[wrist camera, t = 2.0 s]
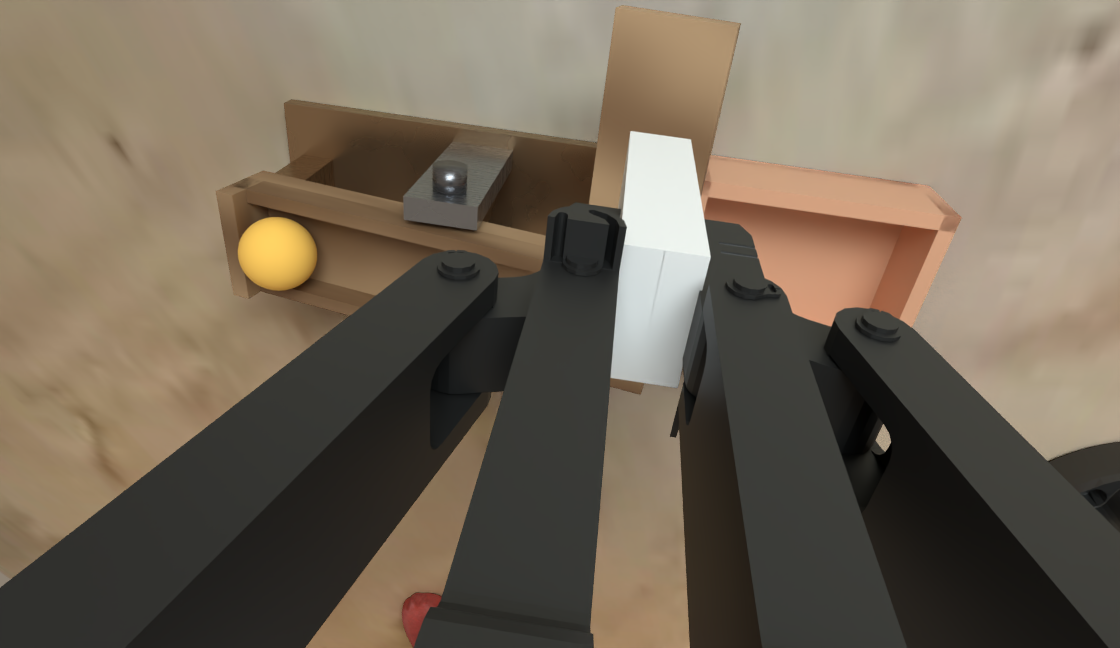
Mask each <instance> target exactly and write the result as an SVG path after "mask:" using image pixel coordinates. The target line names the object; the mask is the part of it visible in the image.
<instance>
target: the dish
mask: <svg viewBox="0 0 1120 648" xmlns="http://www.w3.org/2000/svg"><path fill="white" fill-rule="evenodd" d="M701 202H702V208H703V214H704V219H707V220H714V221H721V222H728V223H735V224H739V225H741V226H742V227H743V228H744V229H745V230H746V231H747V232H748V233H749V234H751V235H752V238H753V241H754V245H755V249H756V251H757V255H758V259H759V261H760V264H761V268H762V271H763V274H764V278H765V279H768V280H770V281H772V282H773V283H775V284H776V285H778V286H779V287H781V288H782V290H783V291H784V292H785V294H786V295H787V298H788V301H789V304H790V306H791V309H792V312H793V313H794V314H796V315H798V316H800V317H803V318H806V319H808V320H811V321H815V322H818V323H821V324H824V325H827V326H832V323H833V321H834V318H835V316H836V313H837V312H839V311H841V310H843V309H844V308H854V307H859V308H867V309H868V308H873V309H878V310H879V311H880V312H881V311H884V312H887V313H890V314H891V315H892V316H893V317H895V318H898V319H900V320H902V321H904V322H905V323H906V324H908V325H909V326H910V327H911V328H912V326H913V324H914V322H915V319H916V317H917V315H918V313H919V311H920V308H921V306H922V304H923V302H924V300H925V297H926V295H927V293H928V291H929V289H930V286H931V284H932V282H933V280H934V278H935V275H936V273H937V271H938V269H939V267H940V264H941V262H942V260H943V258H944V256H945V253H946V251H947V249H948V247H949V245H950V242H951V240H952V238H953V236H954V234H955V231H956V229H957V227H958V225H959V223H960V221H961V217H960V216H959V215H958V214H957V213H956V212H955V211H954V210H953V209H952V208H951V207H950V206H949V205H948V204H947V203H946V202H945V201H944V200H943V199H942V198H941V197H940V196H939V195H938V194H937V193H936V192H935V191H934V190H933V189H932V188H931V187H930V186H927V185H920V184H912V183H905V182H898V181H891V180H884V179H877V178H870V177H863V176H856V175H849V174H842V173H835V172H828V171H821V170H814V169H807V168H800V167H793V166H786V165H779V164H771V163H764V162H757V161H750V160H743V159H736V158H729V157H722V156H715V155H711V156H710V160H709V164H708V169H707V173H706V178H705V182H704V186H703V191H702V195H701Z"/></svg>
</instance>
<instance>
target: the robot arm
mask: <svg viewBox="0 0 1120 648" xmlns="http://www.w3.org/2000/svg"><path fill="white" fill-rule="evenodd" d="M498 274H499V272H498V269H497V266H496V264H495V263H494V262H492V261H491V260H490V259H489V258H487V257H484V256H482V255H479V254H477V253H471V252H467V251H465V250H457V251H455V250H447V251H444V252H440V253H435V254H432V255H430V256H428V257H426V258H424V259H422V260H421V261H420V262H418V263H417V264H416V265H414V266H413V267H412V268H411V269H409V270H408V271H407V272H405V273H404V274H403V275H402V276H400V277H399V278H398V279H396V280H395V281H394V282H393V283H391V284H390V285H389V286H387V287H386V288H385V289H384V290H382V291H381V292H380V293H378V294H377V295H376V296H375V297H373V298H372V299H371V300H369V301H368V302H367V303H366V304H364V305H363V306H362V307H360V308H359V309H358V310H357V311H355V312H354V313H353V314H351V315H350V316H349V317H348V318H346V319H345V320H344V321H342V322H341V323H340V324H339V325H337V326H336V327H335V328H333V329H332V330H331V331H330V332H328V333H327V334H326V335H324V336H323V337H322V338H321V339H319V340H318V341H317V342H315V343H314V344H313V345H312V346H310V347H309V348H308V349H306V350H305V351H304V352H303V353H301V354H300V355H299V356H297V357H296V358H295V359H294V360H292V361H291V362H290V363H288V364H287V365H286V366H285V367H283V368H282V369H281V370H279V371H278V372H277V373H276V374H274V375H273V376H272V377H270V378H269V379H268V380H267V381H265V382H264V383H263V384H261V385H260V386H259V387H258V388H256V389H255V390H254V391H252V392H251V393H250V394H249V395H247V396H246V397H245V398H243V399H242V400H241V401H240V402H238V403H237V404H236V405H234V406H233V407H232V408H231V409H229V410H228V411H227V412H225V413H224V414H223V415H222V416H220V417H219V418H218V419H216V420H215V421H214V422H213V423H211V424H210V425H209V426H207V427H206V428H205V429H204V430H202V431H201V432H200V433H198V434H197V435H196V436H195V437H193V438H192V439H191V440H189V441H188V442H187V443H186V444H184V445H183V446H182V447H180V448H179V449H178V450H177V451H175V452H174V453H173V454H171V455H170V456H169V457H168V458H166V459H165V460H164V461H162V462H161V463H160V464H159V465H157V466H156V467H155V468H153V469H152V470H151V471H150V472H148V473H147V474H146V475H144V476H143V477H142V478H141V479H139V480H138V481H137V482H135V483H134V484H133V485H132V486H130V487H129V488H128V489H126V490H125V491H124V492H123V493H121V494H120V495H119V496H118V497H116V498H115V499H114V500H112V501H111V502H110V503H109V504H107V505H106V506H105V507H103V508H102V509H101V510H100V511H98V512H97V513H96V514H94V515H93V516H92V517H91V518H89V519H88V520H87V521H85V522H84V523H83V524H82V525H80V526H79V527H78V528H76V529H75V530H74V531H73V532H71V533H70V534H69V535H67V536H66V537H65V538H64V539H62V540H61V541H60V542H58V543H57V544H56V545H55V546H53V547H52V548H51V549H49V550H48V551H47V552H46V553H44V554H43V555H42V556H40V557H39V558H38V559H37V560H35V561H34V562H33V563H31V564H30V565H29V566H28V567H26V568H25V569H24V570H22V571H21V572H20V573H19V574H17V575H16V576H15V577H13V578H12V579H11V580H10V581H8V582H7V583H6V584H4V585H3V586H2V587H1V588H0V648H305V647H306V646H307V644H308V643H309V642H310V640H311V639H312V638H313V636H314V635H315V634H316V632H317V631H318V630H319V628H320V627H321V626H322V625H323V623H324V622H325V621H326V619H327V618H328V617H329V615H330V614H331V613H332V611H333V610H334V609H335V607H336V606H337V605H338V603H339V602H340V601H341V599H342V598H343V597H344V595H345V594H346V593H347V591H348V590H349V589H350V587H351V586H352V585H353V583H354V582H355V581H356V579H357V578H358V577H359V575H360V574H361V573H362V571H363V570H364V569H365V567H366V566H367V565H368V563H369V562H370V561H371V559H372V558H373V557H374V555H375V554H376V553H377V551H378V550H379V549H380V547H381V546H382V545H383V543H384V542H385V541H386V539H387V538H388V537H389V536H390V534H391V533H392V532H393V530H394V529H395V528H396V526H397V525H398V524H399V522H400V521H401V520H402V518H403V517H404V516H405V514H406V513H407V512H408V510H409V509H410V508H411V506H412V505H413V504H414V502H415V501H416V500H417V498H418V497H419V496H420V494H421V493H422V492H423V490H424V489H425V488H426V486H427V485H428V484H429V482H430V481H431V480H432V478H433V477H434V476H435V474H436V473H437V472H438V470H439V469H440V468H441V466H442V465H443V464H444V462H445V461H446V460H447V458H448V457H449V456H450V454H451V453H452V452H453V450H454V449H455V448H456V446H457V445H458V444H459V443H460V441H461V440H462V439H463V437H464V436H465V435H466V433H467V432H468V431H469V429H470V428H471V427H472V425H473V424H474V423H475V421H476V420H477V419H478V417H479V416H480V415H481V413H482V412H483V411H484V409H485V408H486V407H487V405H488V403H489V400H490V398H491V392H499V391H504V392H503V396H502V399H501V402H500V406H499V409H498V412H497V416H496V419H495V422H494V426H493V429H492V432H491V436H490V439H489V442H488V446H487V449H486V452H485V456H484V459H483V462H482V466H481V469H480V472H479V476H478V479H477V482H476V486H475V489H474V492H473V495H472V499H471V502H470V505H469V509H468V512H467V515H466V519H465V522H464V525H463V529H462V532H461V535H460V539H459V542H458V545H457V549H456V552H455V555H454V559H453V562H452V565H451V569H450V572H449V575H448V579H447V582H446V585H445V589H444V592H443V595H442V597H441V600H440V602H439V604H438V606H437V607H430V608H429V610H428V612H427V614H426V615H425V617H424V619H423V622H422V625H421V628H420V630H419V633H418V636H417V639H416V642H415V645H414V648H594V644H593V634H592V633H590V622H591V608H592V596H593V584H594V572H595V560H596V547H597V535H598V523H599V511H600V499H601V487H602V475H603V463H604V451H605V439H606V426H607V414H608V402H609V390H610V378H615V379H622V380H628V381H634V382H641V383H647V384H654V385H660V386H667V387H673V388H678V385H679V381H680V377H681V373H682V369H683V371H684V383H683V387H682V391H681V395H680V399H679V403H678V407H677V411H676V415H675V418H674V422H673V426H672V430H671V434H670V437H676V436H677V433H678V430H679V432H680V453H681V473H682V494H683V514H684V535H685V555H686V576H687V597H688V617H689V638H690V648H1120V442H1117V443H1110V444H1104V445H1099V446H1095V447H1091V448H1087V449H1083V450H1080V451H1076V452H1073V453H1070V454H1067V455H1065V456H1062V457H1059V458H1057V459H1055V460H1052V461H1050V462H1048V461H1047V460H1046V459H1045V458H1044V457H1043V456H1042V455H1041V454H1040V453H1039V452H1038V451H1037V450H1036V449H1035V448H1034V447H1032V446H1031V445H1030V444H1029V443H1028V442H1027V441H1026V440H1025V439H1024V438H1023V437H1022V436H1021V435H1020V434H1019V433H1018V432H1017V431H1016V430H1015V429H1014V428H1013V427H1012V426H1011V425H1010V424H1009V423H1008V422H1007V421H1006V420H1005V419H1004V418H1003V417H1002V416H1001V415H1000V414H999V413H998V412H997V411H996V410H995V409H994V408H993V407H992V406H991V405H990V404H989V403H988V402H987V401H986V400H985V399H984V398H983V397H982V396H981V395H980V394H979V393H978V392H977V391H976V390H975V389H974V388H973V387H972V386H971V385H970V384H969V383H968V382H967V381H966V380H965V379H964V378H963V377H962V376H961V375H960V374H959V373H958V372H957V371H956V370H955V369H954V368H953V367H952V366H951V365H950V364H949V363H948V362H947V361H946V360H945V359H944V358H943V357H942V356H941V355H940V354H939V353H938V352H936V351H935V350H934V349H933V348H932V347H931V346H930V345H929V344H928V343H927V342H926V341H925V340H924V339H923V338H922V337H921V336H920V335H919V334H918V333H917V332H916V331H915V330H914V329H913V328H911V327H910V326H909V325H908V324H906V323H905V322H904V321H902V320H900V319H898V318H895V317H893V316H892V315H891V314H890V313H887V312H884V311H881V312H880V311H879V310H878V309H873V308H868V309H867V308H859V307H854V308H844V309H843V310H841V311H839V312H837V313H836V316H835V318H834V321H833V323H832V326H827V325H824V324H821V323H818V322H815V321H811V320H808V319H806V318H803V317H800V316H798V315H796V314H794V313H793V312H792V309H791V306H790V304H789V301H788V298H787V295H786V294H785V292H784V291H783V290H782V288H781V287H779V286H778V285H776V284H775V283H773V282H772V281H770V280H768V279H765V278H764V274H763V271H762V268H761V264H760V261H759V259H758V255H757V251H756V249H755V245H754V241H753V238H752V235H751V234H749V233H748V232H747V231H746V230H745V229H744V228H743V227H742V226H741V225H739V224H735V223H728V222H721V221H714V220H707V219H704V214H703V208H702V202H701V196H700V191H699V185H698V179H697V173H696V167H695V161H694V155H693V149H692V143H691V139H685V138H677V137H670V136H663V135H656V134H649V133H641V132H634V131H630V137H629V143H628V150H627V156H626V162H625V168H624V174H623V180H622V187H621V193H620V199H619V205H618V208H611V207H604V206H597V205H590V204H583V203H576V202H575V203H574V204H572V205H571V206H567V207H561V208H558V209H555V210H553V211H552V212H551V213H550V214H549V215H548V218H547V228H546V237H545V247H544V257H543V263H542V266H541V269H540V271H538V272H536V273H533V274H530V275H526V276H521V277H504V278H498ZM883 424H884V425H885V427H886V429H887V430H888V432H889V434H890V438H891V444H890V446H889V448H888V449H887V450H886V452H884V451H883V450H882V449H881V447H880V446H879V445H878V443H877V442H876V441H875V440H876V438H877V436H878V433H879V431H880V429H881V427H882V425H883Z"/></svg>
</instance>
